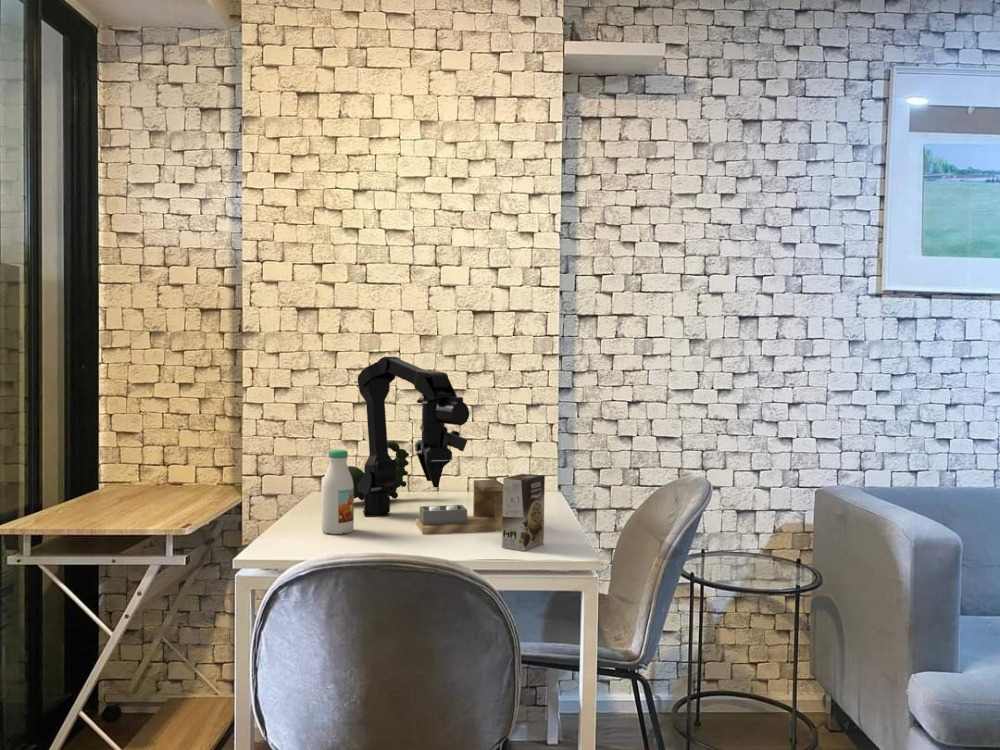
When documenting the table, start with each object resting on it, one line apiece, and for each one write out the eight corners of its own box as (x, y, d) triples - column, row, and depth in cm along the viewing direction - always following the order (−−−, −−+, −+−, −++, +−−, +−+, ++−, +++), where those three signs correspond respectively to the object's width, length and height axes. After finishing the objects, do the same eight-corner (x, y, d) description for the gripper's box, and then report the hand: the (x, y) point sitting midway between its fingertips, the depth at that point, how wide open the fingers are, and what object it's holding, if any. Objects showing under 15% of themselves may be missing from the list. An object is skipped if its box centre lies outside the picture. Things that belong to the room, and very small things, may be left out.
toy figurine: (396, 502, 241) (316, 502, 228) (401, 440, 241) (323, 437, 228) (409, 507, 233) (327, 507, 220) (414, 443, 233) (333, 440, 220)
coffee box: (525, 552, 176) (526, 480, 175) (501, 547, 179) (501, 477, 179) (545, 543, 184) (546, 474, 183) (521, 540, 187) (522, 472, 187)
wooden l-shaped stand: (422, 534, 192) (422, 489, 192) (416, 524, 202) (416, 481, 202) (505, 530, 197) (506, 486, 197) (495, 521, 208) (495, 479, 207)
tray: (423, 525, 194) (423, 510, 194) (419, 520, 200) (419, 505, 200) (467, 523, 197) (467, 508, 197) (461, 518, 203) (462, 503, 203)
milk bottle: (326, 536, 189) (326, 453, 188) (318, 529, 195) (318, 449, 195) (357, 533, 192) (358, 451, 192) (348, 526, 199) (348, 448, 198)
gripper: (473, 425, 190) (472, 489, 191) (457, 418, 208) (456, 477, 209) (427, 426, 187) (426, 491, 188) (415, 418, 205) (414, 478, 206)
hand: (432, 484), depth 198 cm, fingers open, 9 cm apart
